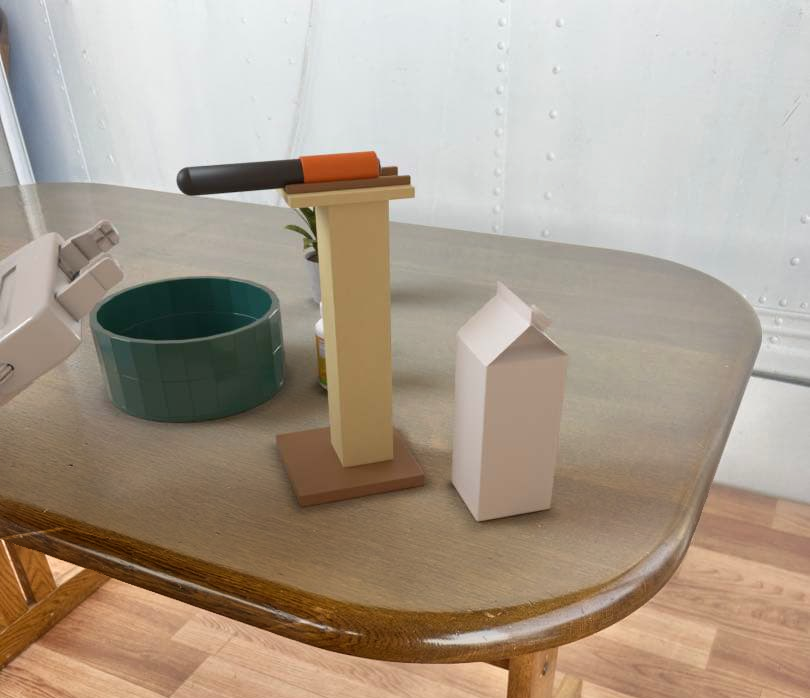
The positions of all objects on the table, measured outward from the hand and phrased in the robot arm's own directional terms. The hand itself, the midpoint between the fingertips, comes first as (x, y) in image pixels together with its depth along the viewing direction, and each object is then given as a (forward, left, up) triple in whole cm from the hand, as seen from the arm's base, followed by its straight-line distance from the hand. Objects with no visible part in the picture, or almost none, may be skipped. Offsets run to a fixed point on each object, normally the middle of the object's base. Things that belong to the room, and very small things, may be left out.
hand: (115, 244), depth 62 cm
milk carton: (+29, -10, -23) cm, 39 cm away
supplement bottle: (+21, +18, -23) cm, 36 cm away
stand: (+17, 0, -23) cm, 29 cm away
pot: (+5, +24, -23) cm, 34 cm away
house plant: (+26, +44, -23) cm, 56 cm away
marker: (+13, 0, +3) cm, 14 cm away
